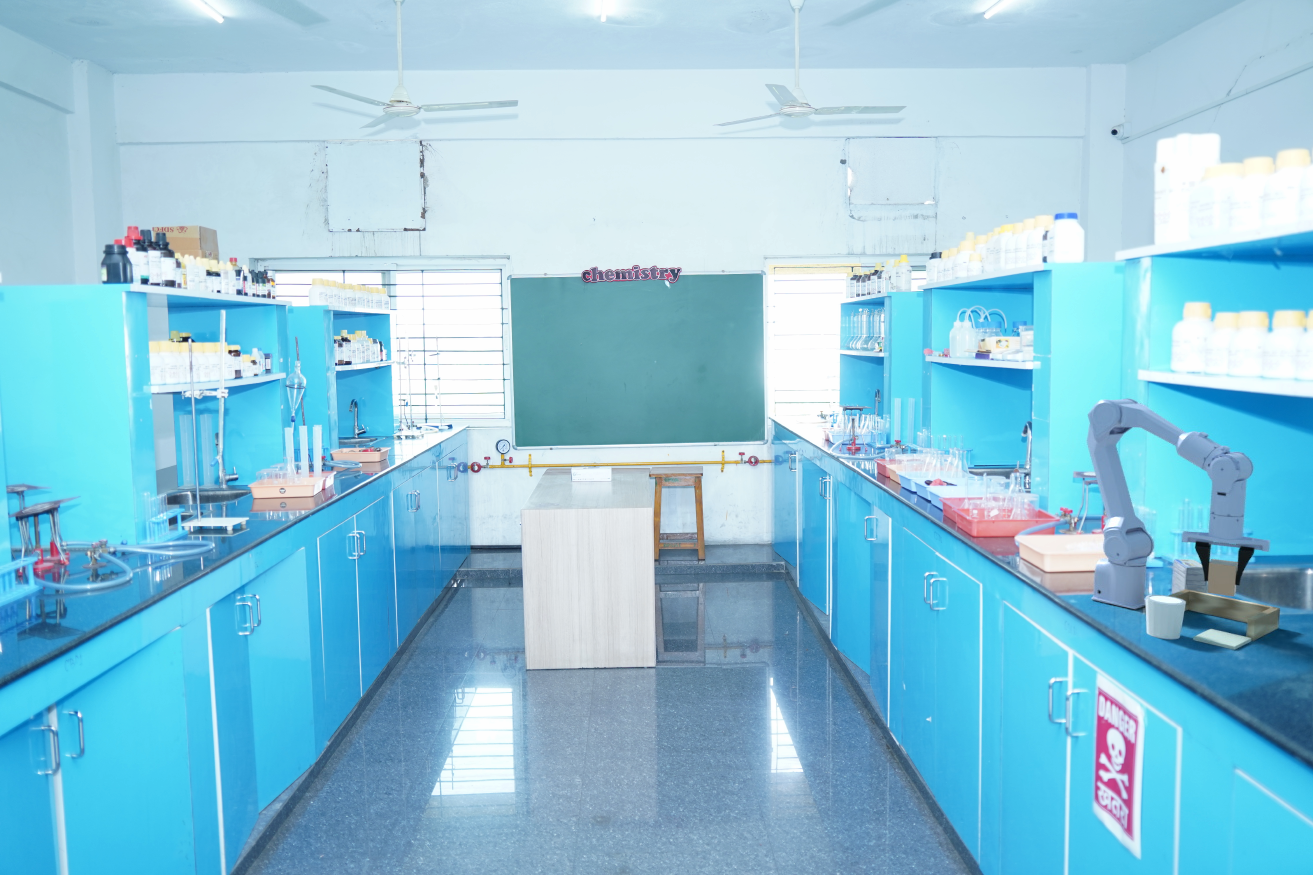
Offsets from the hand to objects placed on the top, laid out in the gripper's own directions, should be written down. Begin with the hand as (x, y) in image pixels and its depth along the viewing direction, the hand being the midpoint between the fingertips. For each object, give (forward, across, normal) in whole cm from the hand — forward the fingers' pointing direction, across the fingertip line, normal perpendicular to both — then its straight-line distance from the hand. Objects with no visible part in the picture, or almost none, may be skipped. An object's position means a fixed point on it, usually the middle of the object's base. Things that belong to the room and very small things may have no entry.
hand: (1222, 582), depth 180 cm
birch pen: (+9, +1, -2) cm, 9 cm away
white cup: (+9, +8, +12) cm, 18 cm away
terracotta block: (+2, 0, 0) cm, 2 cm away
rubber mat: (+9, -1, +10) cm, 13 cm away
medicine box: (+9, +7, -16) cm, 20 cm away
